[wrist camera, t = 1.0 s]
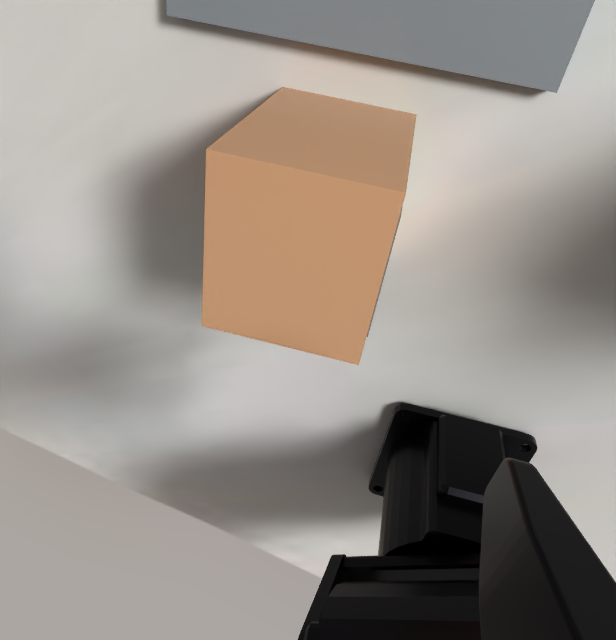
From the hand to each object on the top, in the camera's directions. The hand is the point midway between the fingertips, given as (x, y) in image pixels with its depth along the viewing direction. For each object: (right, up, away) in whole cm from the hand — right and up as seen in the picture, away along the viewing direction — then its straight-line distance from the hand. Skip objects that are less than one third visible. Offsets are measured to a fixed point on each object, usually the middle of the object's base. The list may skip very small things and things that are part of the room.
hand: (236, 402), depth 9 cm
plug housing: (+2, +7, +9) cm, 12 cm away
